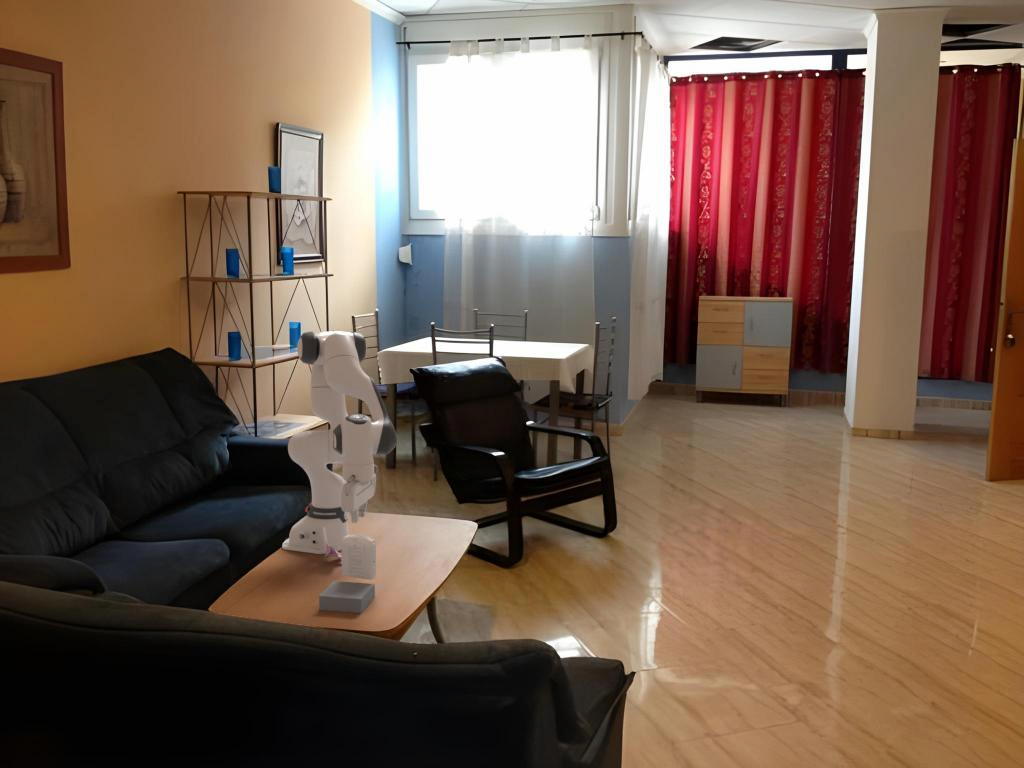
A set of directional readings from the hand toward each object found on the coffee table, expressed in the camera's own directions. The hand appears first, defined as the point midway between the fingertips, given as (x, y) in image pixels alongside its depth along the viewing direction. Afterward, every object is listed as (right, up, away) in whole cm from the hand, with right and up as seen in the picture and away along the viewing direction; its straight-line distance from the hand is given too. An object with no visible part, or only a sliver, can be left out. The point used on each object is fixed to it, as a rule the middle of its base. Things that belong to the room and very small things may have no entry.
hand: (358, 519), depth 262 cm
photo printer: (0, -17, +3) cm, 17 cm away
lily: (-15, -19, +24) cm, 34 cm away
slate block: (-2, -23, -7) cm, 24 cm away
